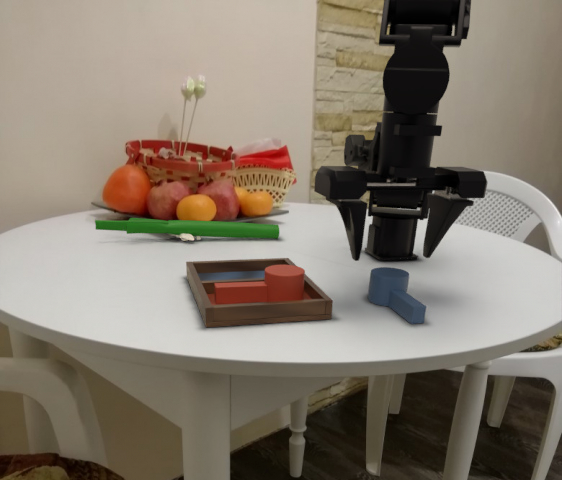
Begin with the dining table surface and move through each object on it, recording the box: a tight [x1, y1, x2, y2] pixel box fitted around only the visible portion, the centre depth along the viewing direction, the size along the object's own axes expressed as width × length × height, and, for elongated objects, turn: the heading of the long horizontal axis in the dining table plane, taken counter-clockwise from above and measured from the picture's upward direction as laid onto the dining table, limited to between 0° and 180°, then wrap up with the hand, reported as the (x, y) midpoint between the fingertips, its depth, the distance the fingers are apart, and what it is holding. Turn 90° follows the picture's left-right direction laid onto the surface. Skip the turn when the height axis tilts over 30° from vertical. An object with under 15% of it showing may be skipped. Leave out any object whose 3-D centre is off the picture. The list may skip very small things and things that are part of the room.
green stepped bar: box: [94, 217, 280, 242], centre depth 90 cm, size 5×3×30 cm
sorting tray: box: [185, 257, 334, 328], centre depth 66 cm, size 14×18×2 cm
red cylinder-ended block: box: [214, 265, 306, 304], centre depth 62 cm, size 10×5×4 cm, turn 103°
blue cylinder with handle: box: [367, 266, 427, 325], centre depth 64 cm, size 10×5×4 cm, turn 15°
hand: (391, 258), depth 65 cm, fingers open, 9 cm apart
